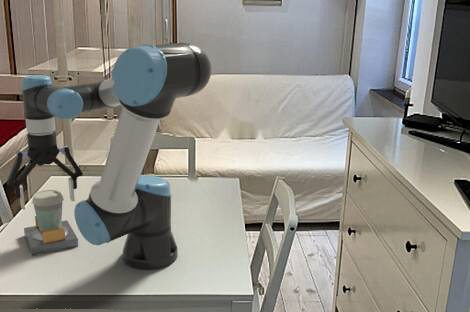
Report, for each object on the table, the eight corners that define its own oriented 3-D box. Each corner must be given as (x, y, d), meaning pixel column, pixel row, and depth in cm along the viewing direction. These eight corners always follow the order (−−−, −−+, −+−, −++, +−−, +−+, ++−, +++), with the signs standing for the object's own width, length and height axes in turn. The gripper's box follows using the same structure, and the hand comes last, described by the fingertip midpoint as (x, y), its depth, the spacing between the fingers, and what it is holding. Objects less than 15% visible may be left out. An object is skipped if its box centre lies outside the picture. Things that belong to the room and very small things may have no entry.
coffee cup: (56, 240, 147) (53, 201, 144) (29, 237, 149) (25, 198, 145) (71, 227, 155) (68, 190, 152) (45, 224, 157) (42, 187, 153)
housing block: (78, 246, 150) (77, 227, 148) (32, 255, 144) (30, 236, 142) (67, 227, 162) (66, 209, 160) (24, 235, 156) (22, 217, 154)
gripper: (83, 124, 152) (88, 192, 158) (-10, 133, 140) (-1, 206, 146) (90, 130, 146) (94, 200, 152) (-7, 140, 134) (2, 216, 140)
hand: (48, 203), depth 149 cm, fingers open, 13 cm apart
